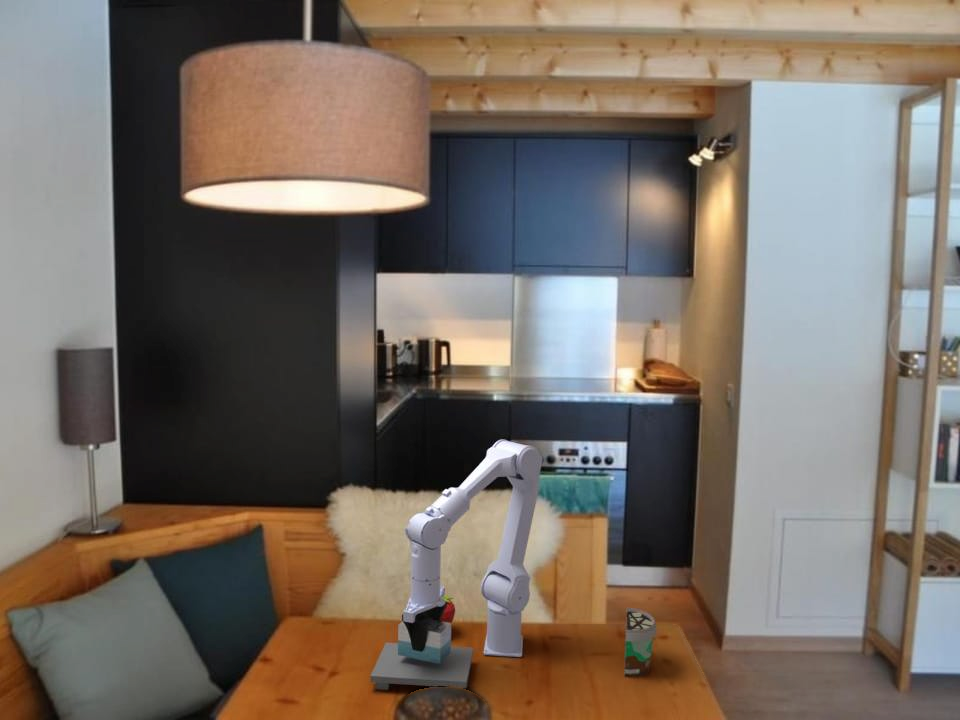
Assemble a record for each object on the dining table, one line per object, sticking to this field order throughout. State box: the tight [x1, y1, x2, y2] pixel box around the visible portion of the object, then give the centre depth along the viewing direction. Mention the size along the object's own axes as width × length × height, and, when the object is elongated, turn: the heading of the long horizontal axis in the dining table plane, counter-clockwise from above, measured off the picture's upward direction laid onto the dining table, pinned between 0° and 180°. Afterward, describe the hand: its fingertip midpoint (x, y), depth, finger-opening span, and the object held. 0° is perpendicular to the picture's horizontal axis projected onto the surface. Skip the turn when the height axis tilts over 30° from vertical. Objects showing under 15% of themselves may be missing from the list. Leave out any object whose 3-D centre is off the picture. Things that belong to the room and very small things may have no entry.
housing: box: [397, 620, 452, 664], centre depth 144 cm, size 5×9×6 cm, turn 69°
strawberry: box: [440, 593, 456, 624], centre depth 163 cm, size 6×8×10 cm
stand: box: [369, 642, 474, 691], centre depth 145 cm, size 14×18×3 cm
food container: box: [623, 607, 658, 678], centre depth 150 cm, size 12×6×10 cm, turn 168°
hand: (424, 644), depth 144 cm, fingers closed on housing, 5 cm apart
